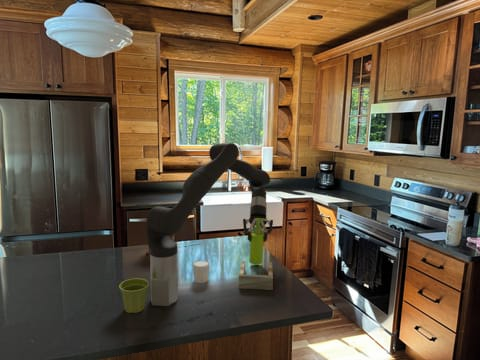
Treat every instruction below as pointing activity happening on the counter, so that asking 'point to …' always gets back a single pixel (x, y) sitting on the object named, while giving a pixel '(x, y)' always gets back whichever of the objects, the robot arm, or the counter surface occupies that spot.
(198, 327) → the counter surface
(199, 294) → the counter surface
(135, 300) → the plant pot
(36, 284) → the counter surface
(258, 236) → the soap dispenser
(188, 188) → the robot arm
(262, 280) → the shelf
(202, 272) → the shot glass
